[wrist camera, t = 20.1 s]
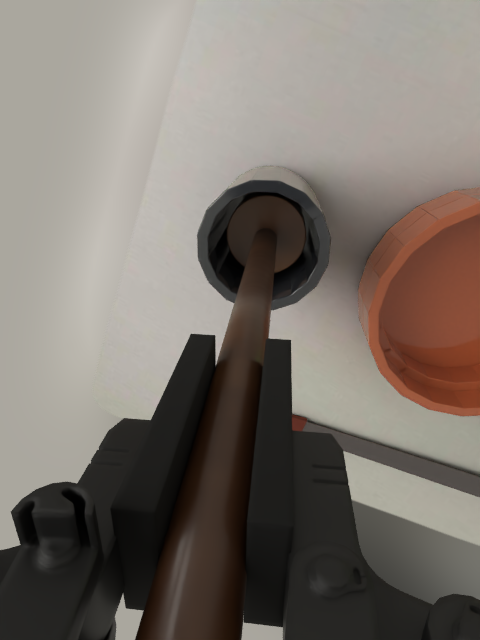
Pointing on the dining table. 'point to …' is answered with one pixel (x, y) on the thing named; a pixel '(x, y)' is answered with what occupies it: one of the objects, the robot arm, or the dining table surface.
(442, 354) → the orange plant saucer
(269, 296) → the wooden plunger
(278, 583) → the robot arm
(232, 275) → the crock
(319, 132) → the dining table surface
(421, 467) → the knife
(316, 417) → the dining table surface
